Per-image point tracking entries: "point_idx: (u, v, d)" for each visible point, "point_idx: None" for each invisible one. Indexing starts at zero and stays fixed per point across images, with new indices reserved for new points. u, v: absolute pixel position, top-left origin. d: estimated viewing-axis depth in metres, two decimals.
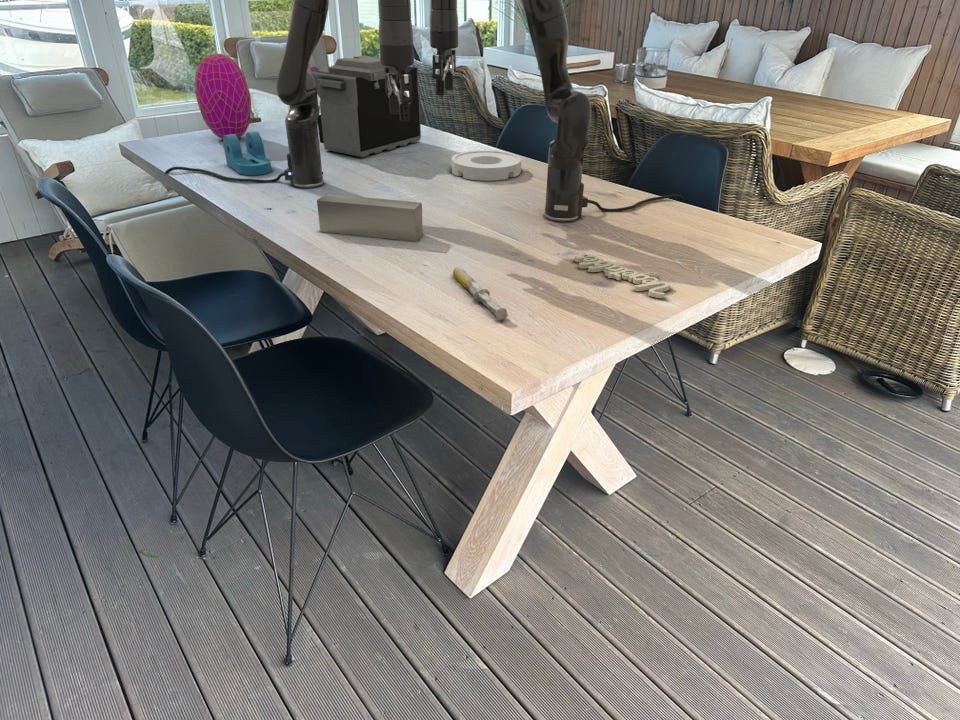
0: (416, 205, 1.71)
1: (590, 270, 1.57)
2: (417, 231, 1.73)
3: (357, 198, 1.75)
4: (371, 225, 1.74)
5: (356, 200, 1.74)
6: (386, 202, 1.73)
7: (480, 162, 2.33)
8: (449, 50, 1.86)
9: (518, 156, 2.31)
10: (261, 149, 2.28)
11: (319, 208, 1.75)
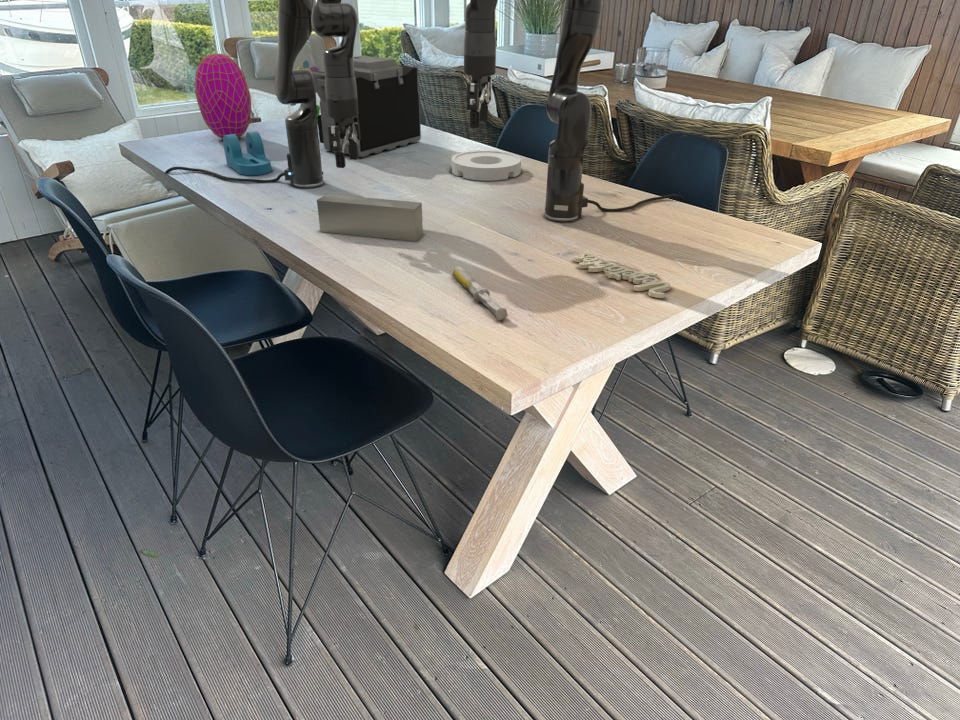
0: (416, 205, 1.71)
1: (590, 270, 1.57)
2: (417, 231, 1.73)
3: (357, 198, 1.75)
4: (371, 225, 1.74)
5: (356, 200, 1.74)
6: (386, 202, 1.73)
7: (480, 162, 2.33)
8: (349, 118, 1.70)
9: (518, 156, 2.31)
10: (261, 149, 2.28)
11: (319, 208, 1.75)
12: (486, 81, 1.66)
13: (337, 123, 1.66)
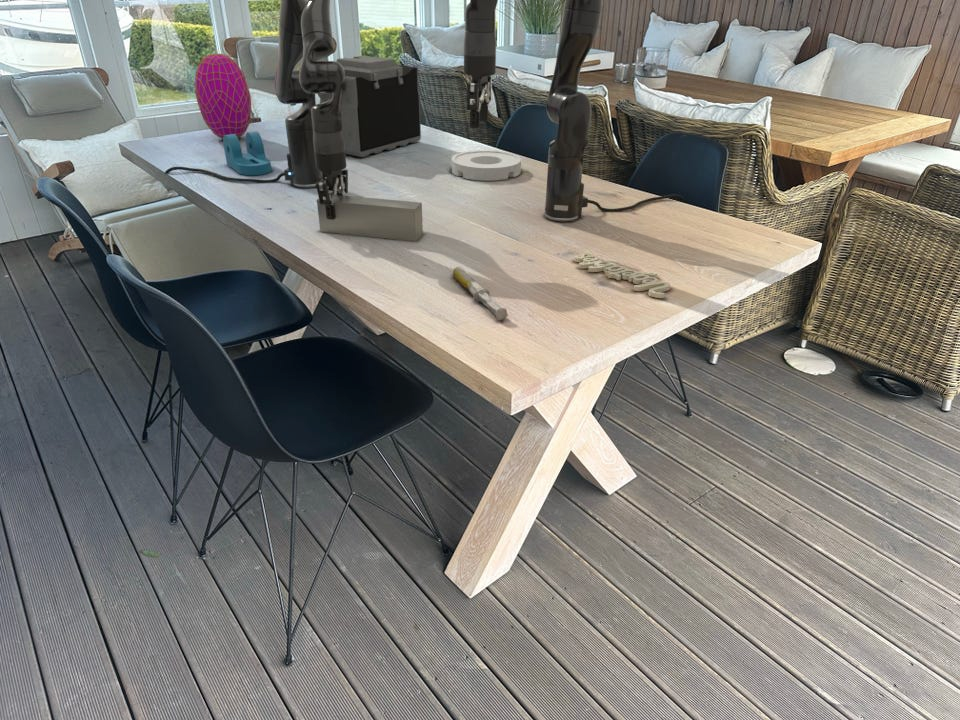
0: (416, 205, 1.71)
1: (590, 270, 1.57)
2: (417, 231, 1.73)
3: (357, 198, 1.75)
4: (371, 225, 1.74)
5: (356, 200, 1.74)
6: (386, 202, 1.73)
7: (480, 162, 2.33)
8: None
9: (518, 156, 2.31)
10: (261, 149, 2.28)
11: (319, 208, 1.75)
12: (486, 81, 1.66)
13: (325, 176, 1.69)
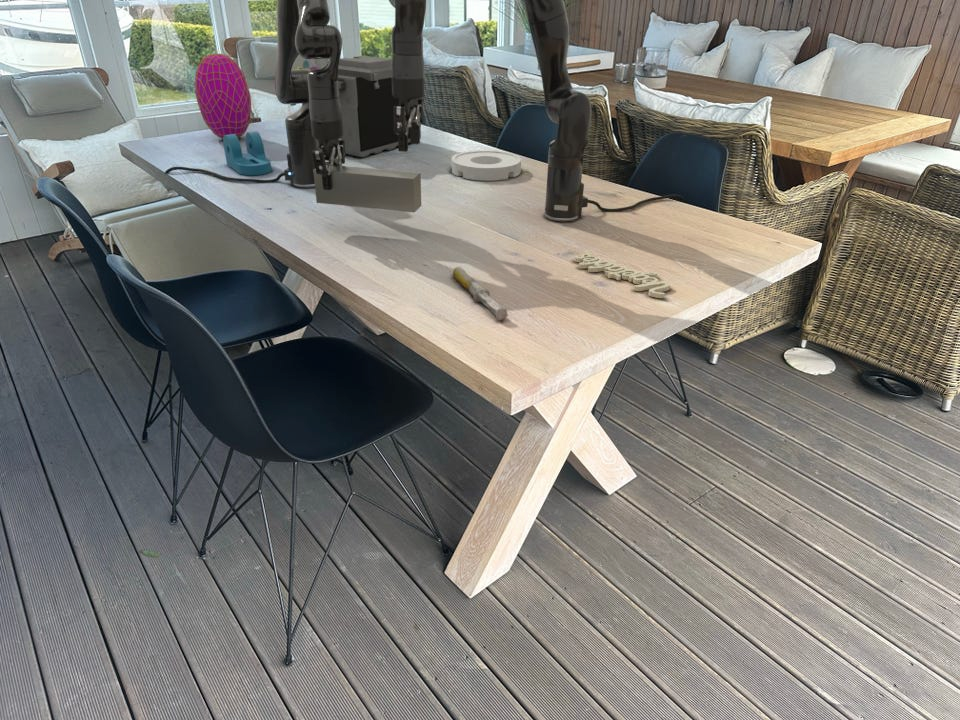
0: (415, 175, 1.67)
1: (590, 270, 1.57)
2: (416, 202, 1.69)
3: (354, 168, 1.72)
4: (369, 196, 1.70)
5: (354, 171, 1.70)
6: (384, 172, 1.69)
7: (480, 162, 2.33)
8: (334, 139, 1.69)
9: (518, 156, 2.31)
10: (261, 149, 2.28)
11: (315, 178, 1.71)
12: (416, 104, 1.62)
13: (321, 144, 1.65)
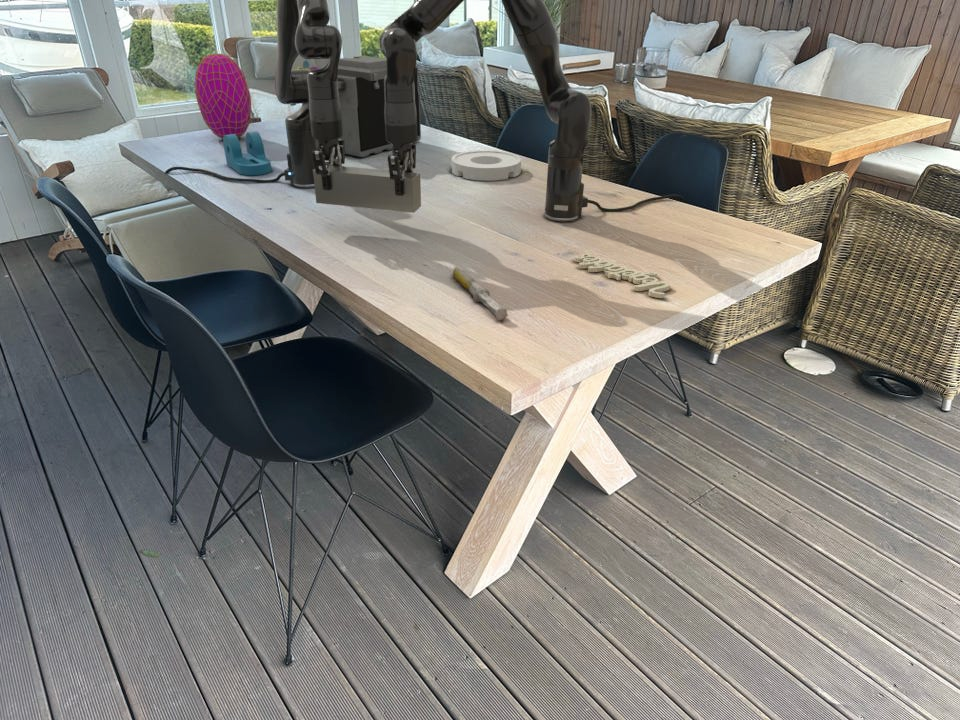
0: (414, 175, 1.67)
1: (590, 270, 1.57)
2: (415, 202, 1.69)
3: (354, 168, 1.72)
4: (368, 196, 1.70)
5: (353, 171, 1.70)
6: (383, 172, 1.69)
7: (480, 162, 2.33)
8: (334, 139, 1.69)
9: (518, 156, 2.31)
10: (261, 149, 2.28)
11: (315, 178, 1.71)
12: (409, 146, 1.66)
13: (321, 144, 1.65)
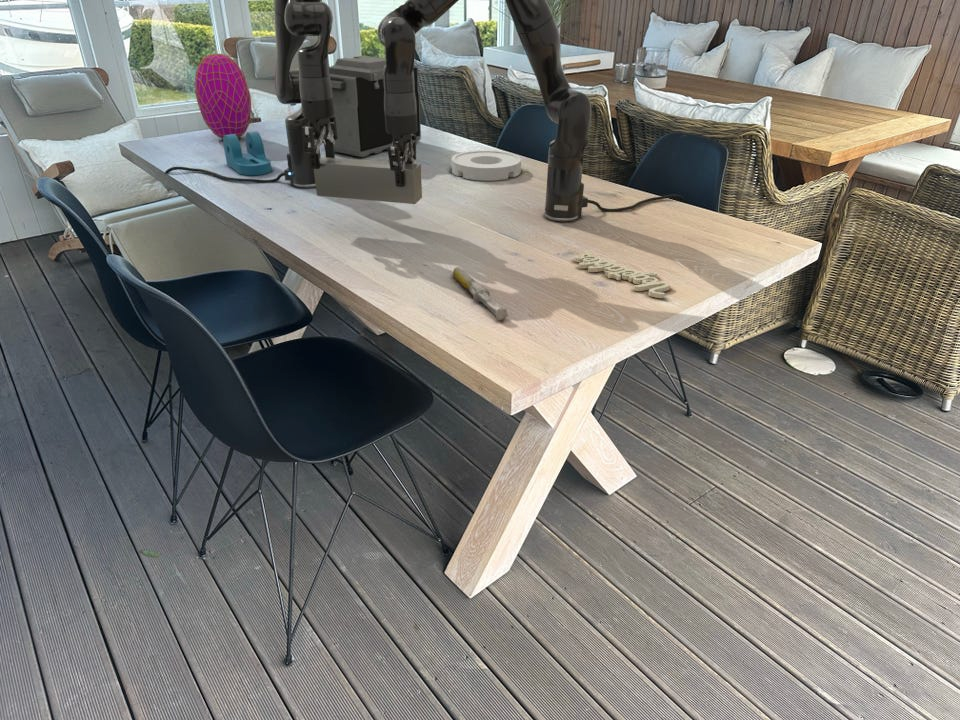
0: (415, 166, 1.66)
1: (590, 270, 1.57)
2: (416, 194, 1.68)
3: (354, 160, 1.71)
4: (369, 188, 1.69)
5: (354, 163, 1.69)
6: (384, 164, 1.68)
7: (480, 162, 2.33)
8: (325, 119, 1.67)
9: (518, 156, 2.31)
10: (261, 149, 2.28)
11: (315, 171, 1.70)
12: (410, 137, 1.65)
13: (312, 124, 1.63)
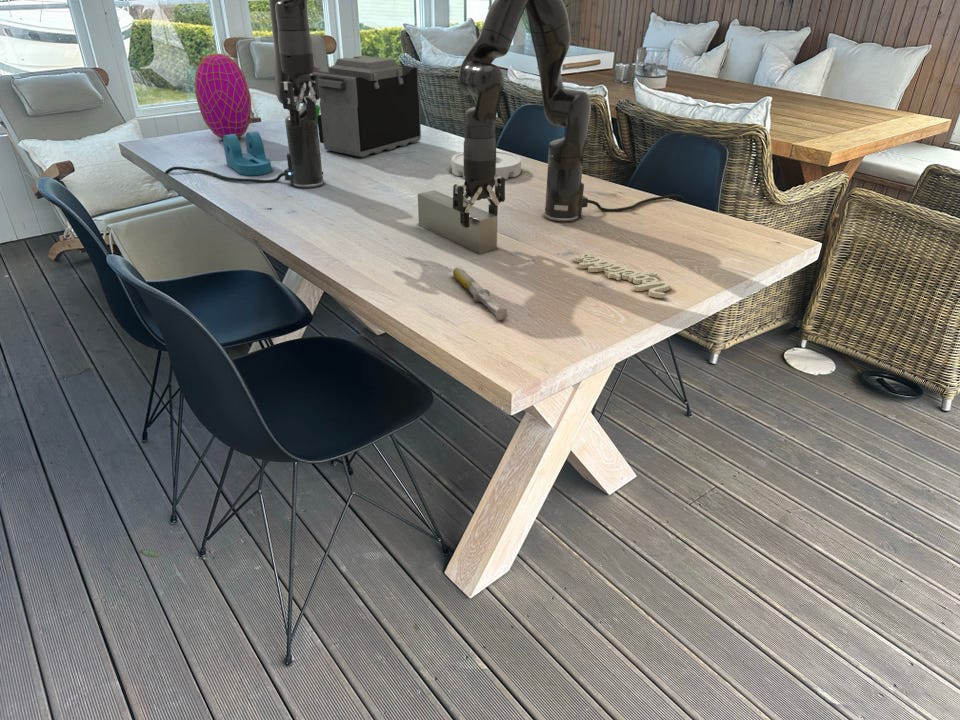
0: (487, 217, 1.64)
1: (590, 270, 1.57)
2: (484, 244, 1.66)
3: (451, 199, 1.75)
4: (450, 228, 1.72)
5: (446, 201, 1.74)
6: None
7: None
8: (305, 75, 1.63)
9: (518, 156, 2.31)
10: (261, 149, 2.28)
11: (418, 202, 1.80)
12: (490, 183, 1.62)
13: (291, 79, 1.59)
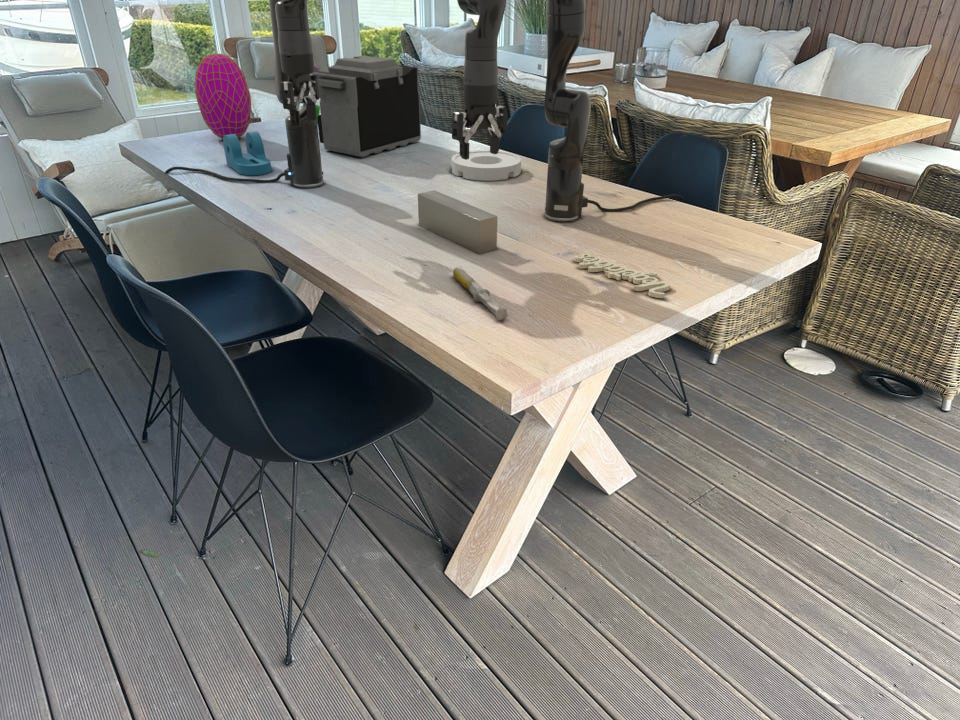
0: (487, 217, 1.64)
1: (590, 270, 1.57)
2: (484, 244, 1.66)
3: (451, 199, 1.75)
4: (450, 228, 1.72)
5: (446, 201, 1.74)
6: (467, 208, 1.69)
7: (480, 162, 2.33)
8: (305, 75, 1.63)
9: (518, 156, 2.31)
10: (261, 149, 2.28)
11: (418, 202, 1.80)
12: (491, 112, 1.54)
13: (291, 79, 1.59)
